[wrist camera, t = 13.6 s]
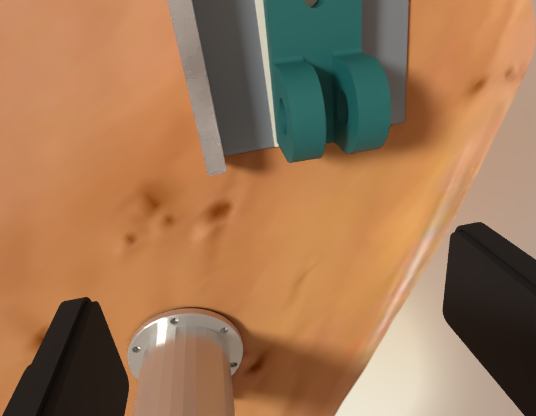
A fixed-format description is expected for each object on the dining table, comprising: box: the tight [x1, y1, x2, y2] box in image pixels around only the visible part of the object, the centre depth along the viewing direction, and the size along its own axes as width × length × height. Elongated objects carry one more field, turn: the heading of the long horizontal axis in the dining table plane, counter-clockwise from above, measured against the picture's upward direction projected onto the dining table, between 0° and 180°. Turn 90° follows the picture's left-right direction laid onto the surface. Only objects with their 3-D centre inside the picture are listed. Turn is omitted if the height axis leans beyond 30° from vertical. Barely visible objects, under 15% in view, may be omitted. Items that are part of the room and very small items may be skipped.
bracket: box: [263, 0, 391, 163], centre depth 27 cm, size 18×7×8 cm, turn 6°
